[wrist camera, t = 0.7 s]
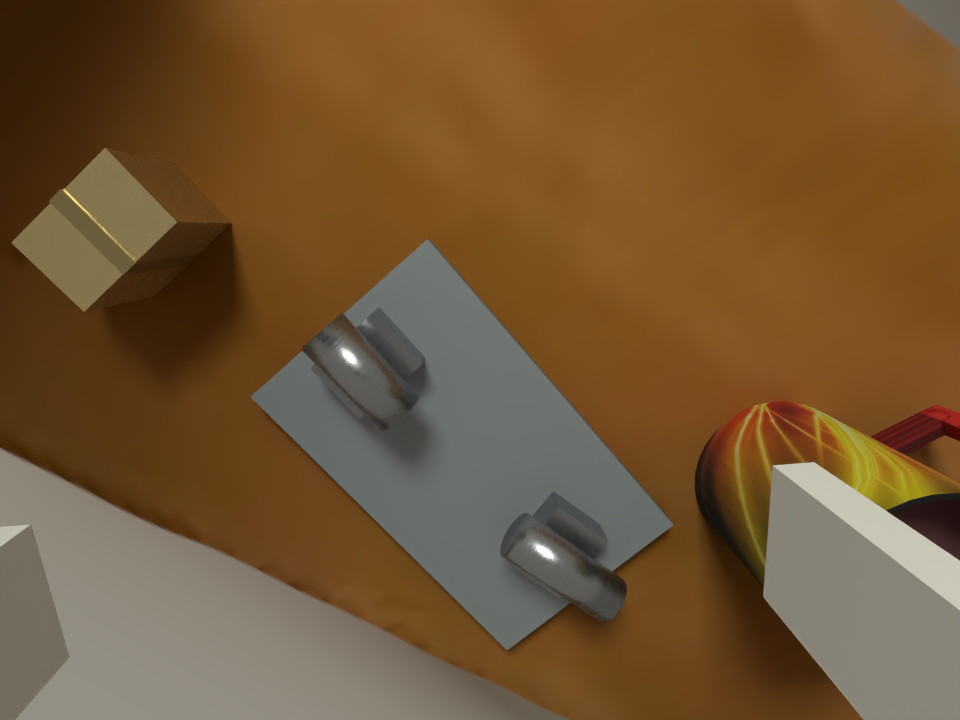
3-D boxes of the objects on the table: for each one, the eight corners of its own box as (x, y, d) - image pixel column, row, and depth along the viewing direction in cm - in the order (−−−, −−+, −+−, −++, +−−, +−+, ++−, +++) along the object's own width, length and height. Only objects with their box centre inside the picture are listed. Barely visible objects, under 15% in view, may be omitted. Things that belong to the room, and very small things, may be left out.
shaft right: (486, 532, 33) (491, 579, 29) (533, 476, 33) (545, 516, 28) (572, 589, 34) (589, 644, 30) (619, 537, 34) (643, 585, 29)
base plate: (259, 389, 32) (250, 396, 31) (428, 238, 31) (427, 239, 29) (505, 633, 37) (507, 650, 35) (664, 512, 35) (673, 525, 34)
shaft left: (306, 346, 30) (280, 366, 26) (366, 293, 30) (350, 304, 25) (376, 419, 31) (363, 450, 27) (435, 369, 31) (432, 392, 26)
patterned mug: (929, 406, 34) (1173, 498, 23) (774, 571, 36) (923, 734, 25) (817, 313, 33) (1017, 361, 21) (662, 492, 35) (765, 625, 23)
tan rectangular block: (155, 296, 31) (83, 313, 25) (96, 238, 30) (8, 241, 24) (232, 224, 30) (176, 223, 24) (174, 162, 30) (102, 146, 24)
